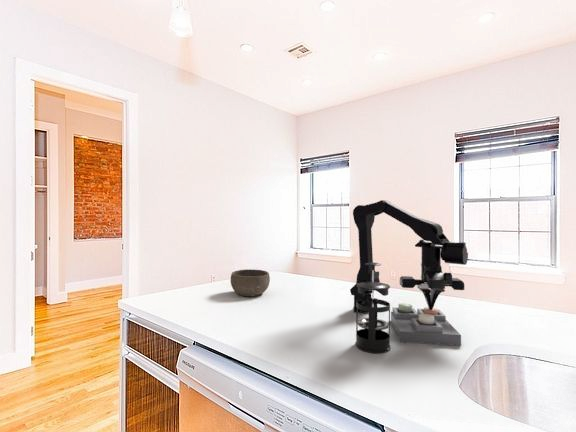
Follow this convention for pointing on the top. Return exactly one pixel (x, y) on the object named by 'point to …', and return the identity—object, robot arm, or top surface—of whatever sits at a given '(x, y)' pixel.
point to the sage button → (405, 307)
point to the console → (424, 328)
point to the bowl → (250, 282)
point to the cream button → (426, 318)
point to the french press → (372, 318)
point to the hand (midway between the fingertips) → (430, 309)
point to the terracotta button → (431, 311)
